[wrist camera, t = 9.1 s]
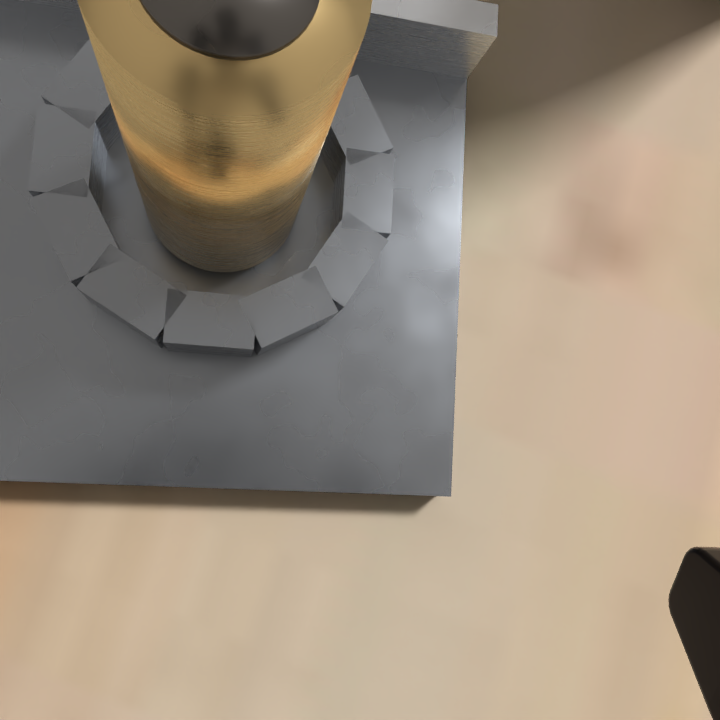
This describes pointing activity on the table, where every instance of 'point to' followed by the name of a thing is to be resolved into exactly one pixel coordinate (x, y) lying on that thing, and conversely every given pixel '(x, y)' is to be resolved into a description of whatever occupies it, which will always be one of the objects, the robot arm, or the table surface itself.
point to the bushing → (224, 112)
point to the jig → (236, 282)
